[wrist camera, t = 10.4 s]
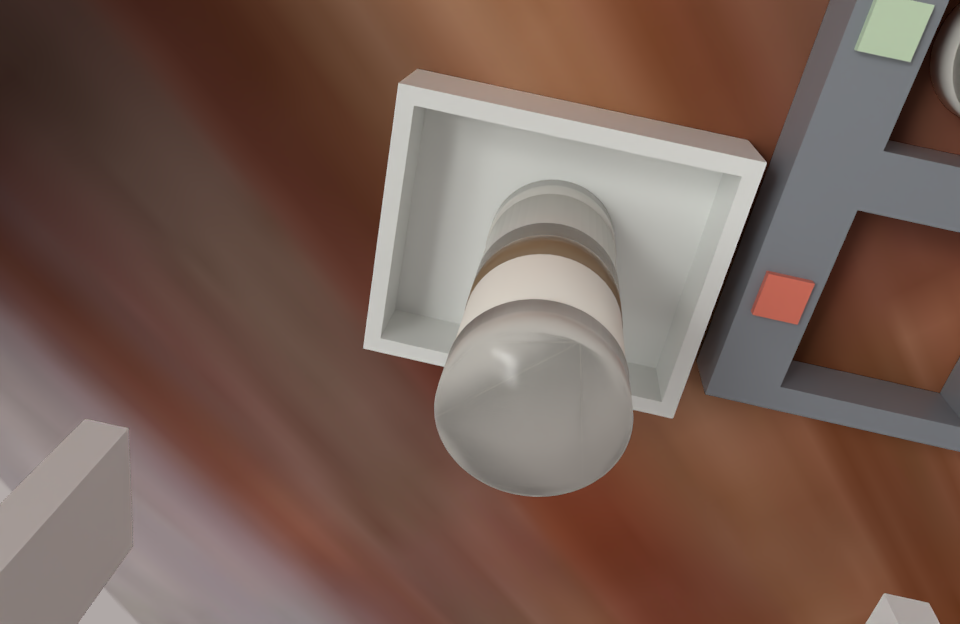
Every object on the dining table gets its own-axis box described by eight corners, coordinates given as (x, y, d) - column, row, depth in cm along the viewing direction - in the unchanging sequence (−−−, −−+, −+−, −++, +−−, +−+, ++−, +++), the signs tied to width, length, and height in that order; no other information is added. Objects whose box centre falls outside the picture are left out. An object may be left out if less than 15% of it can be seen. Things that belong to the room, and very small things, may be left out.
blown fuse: (479, 281, 30) (420, 472, 19) (503, 167, 28) (451, 308, 17) (597, 308, 30) (603, 515, 19) (629, 194, 27) (658, 355, 17)
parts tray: (382, 312, 32) (363, 348, 29) (417, 68, 27) (398, 83, 24) (665, 376, 31) (672, 418, 28) (748, 140, 27) (766, 162, 24)
